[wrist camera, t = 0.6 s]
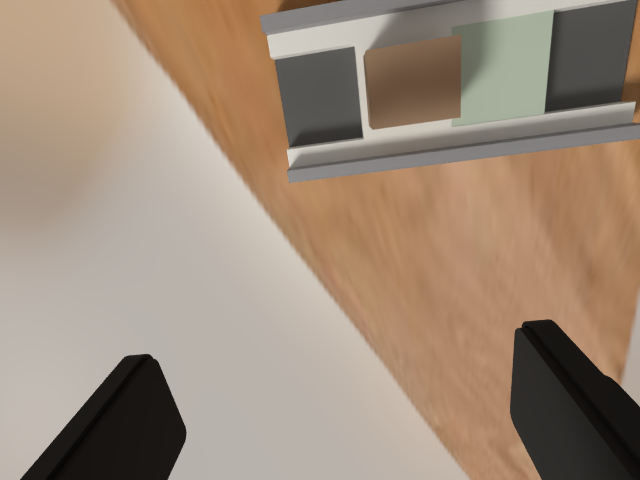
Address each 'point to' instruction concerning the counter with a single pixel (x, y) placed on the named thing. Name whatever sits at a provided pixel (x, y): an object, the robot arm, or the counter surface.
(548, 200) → the counter surface
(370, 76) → the walnut block
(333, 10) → the board
